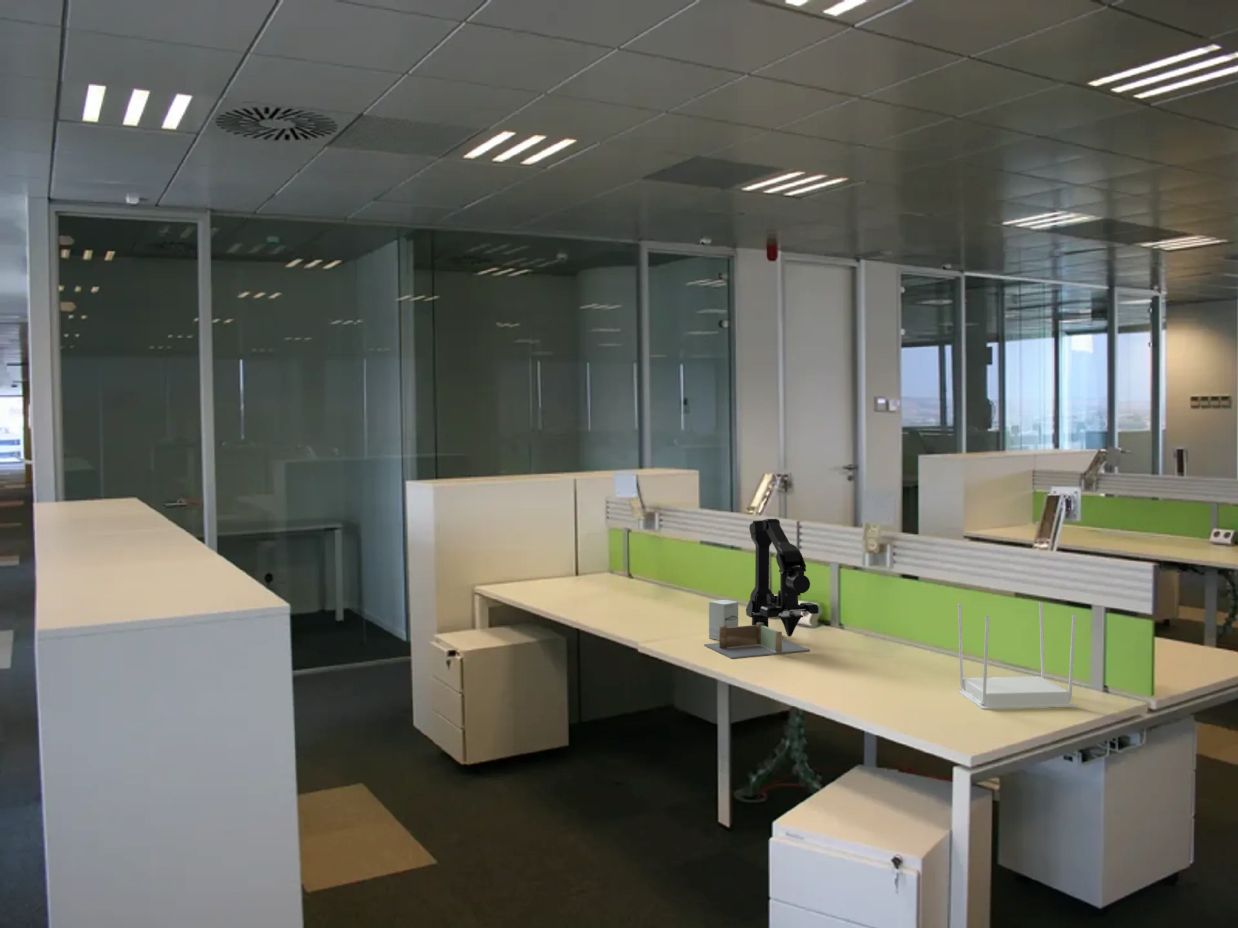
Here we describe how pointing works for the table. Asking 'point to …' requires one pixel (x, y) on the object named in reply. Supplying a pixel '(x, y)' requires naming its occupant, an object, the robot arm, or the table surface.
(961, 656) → the router
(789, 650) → the card
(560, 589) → the table surface
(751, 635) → the fixed fence section
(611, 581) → the table surface
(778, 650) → the hinged fence panel
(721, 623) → the supplement box
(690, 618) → the table surface
